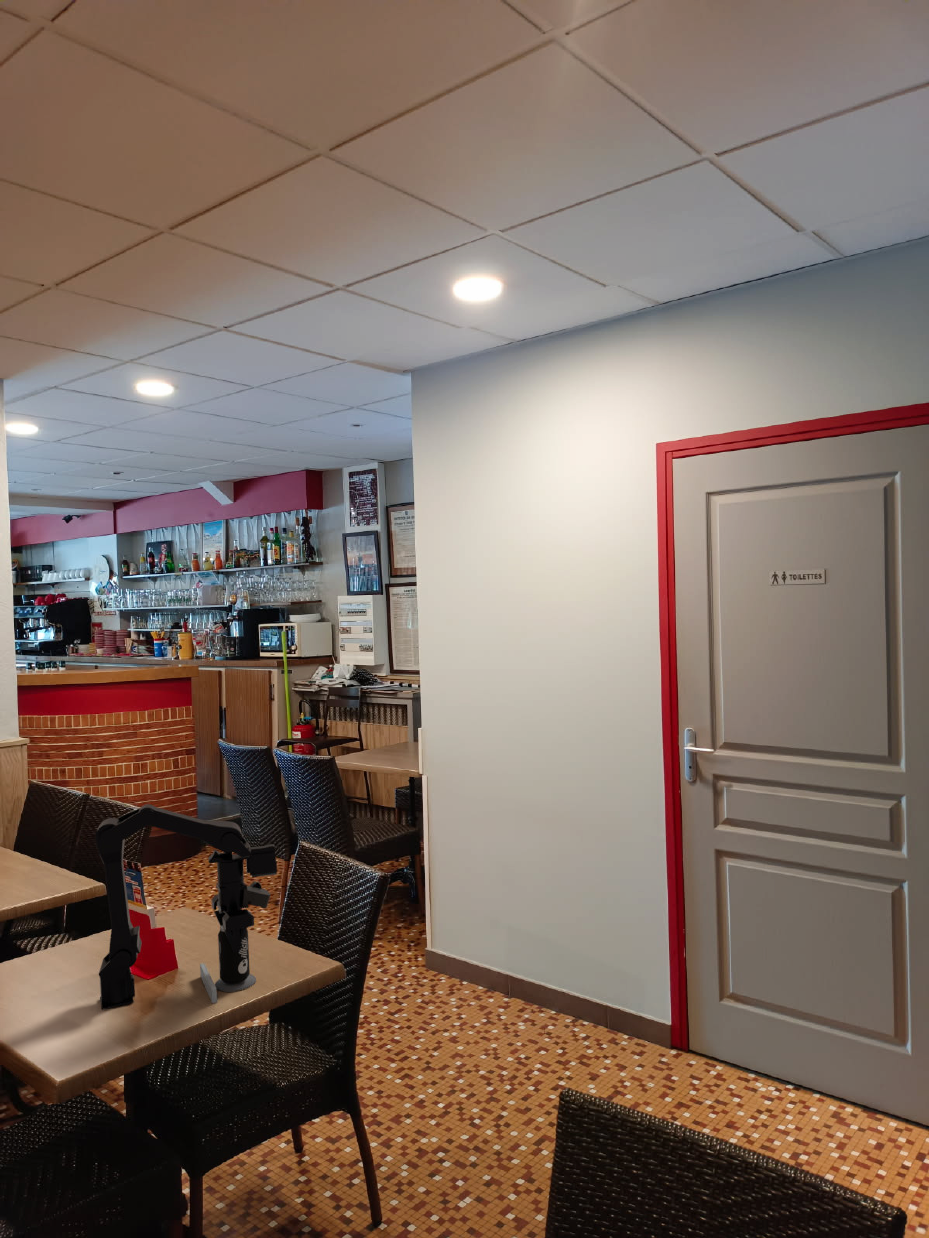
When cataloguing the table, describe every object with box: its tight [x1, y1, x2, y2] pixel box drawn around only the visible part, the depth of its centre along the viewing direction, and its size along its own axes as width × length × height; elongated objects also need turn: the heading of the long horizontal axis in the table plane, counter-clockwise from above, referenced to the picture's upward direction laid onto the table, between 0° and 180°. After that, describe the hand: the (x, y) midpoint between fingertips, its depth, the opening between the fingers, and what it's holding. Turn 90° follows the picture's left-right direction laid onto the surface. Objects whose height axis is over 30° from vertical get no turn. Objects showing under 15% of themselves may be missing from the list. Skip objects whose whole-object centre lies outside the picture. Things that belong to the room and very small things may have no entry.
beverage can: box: [217, 926, 250, 984], centre depth 204 cm, size 7×7×12 cm
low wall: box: [199, 962, 218, 1004], centre depth 202 cm, size 1×16×3 cm, turn 25°
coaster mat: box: [214, 974, 257, 993], centre depth 204 cm, size 9×9×1 cm
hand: (233, 947), depth 204 cm, fingers closed on beverage can, 6 cm apart
